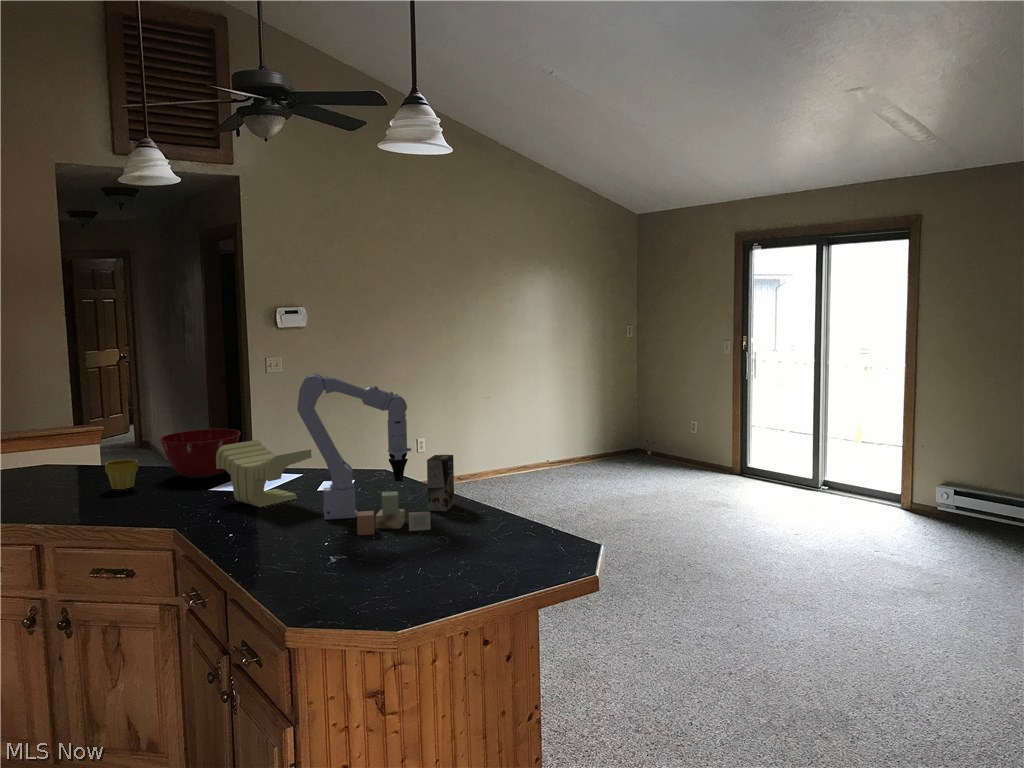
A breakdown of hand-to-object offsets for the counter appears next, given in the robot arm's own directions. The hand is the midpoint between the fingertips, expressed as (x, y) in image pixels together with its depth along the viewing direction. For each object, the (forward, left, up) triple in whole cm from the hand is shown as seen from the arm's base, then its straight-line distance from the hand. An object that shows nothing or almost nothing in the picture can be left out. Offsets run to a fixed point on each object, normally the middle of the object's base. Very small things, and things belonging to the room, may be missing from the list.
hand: (398, 478), depth 243 cm
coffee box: (+13, +2, -11) cm, 17 cm away
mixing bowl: (-72, +69, -11) cm, 100 cm away
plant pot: (-95, +51, -11) cm, 108 cm away
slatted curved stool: (-43, +22, -11) cm, 50 cm away
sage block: (-3, -14, -7) cm, 15 cm away
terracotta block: (-10, -20, -10) cm, 24 cm away
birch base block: (-3, -14, -11) cm, 18 cm away
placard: (+5, -21, -10) cm, 24 cm away
